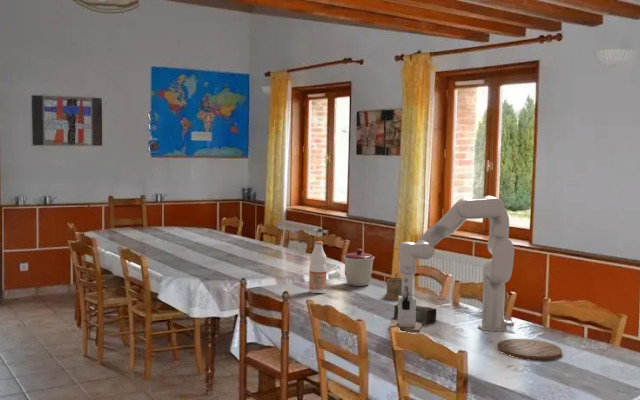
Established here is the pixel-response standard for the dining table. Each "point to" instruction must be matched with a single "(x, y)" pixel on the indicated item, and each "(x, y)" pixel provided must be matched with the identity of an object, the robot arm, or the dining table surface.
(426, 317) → the beverage carton
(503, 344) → the trivet
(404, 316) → the supplement box
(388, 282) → the rusty metal bell
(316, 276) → the fruit juice
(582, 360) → the dining table surface
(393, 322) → the tan square board
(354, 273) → the canister
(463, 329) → the dining table surface
